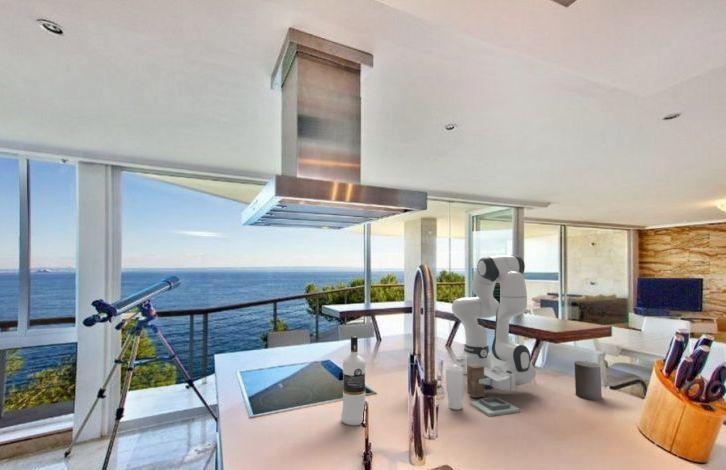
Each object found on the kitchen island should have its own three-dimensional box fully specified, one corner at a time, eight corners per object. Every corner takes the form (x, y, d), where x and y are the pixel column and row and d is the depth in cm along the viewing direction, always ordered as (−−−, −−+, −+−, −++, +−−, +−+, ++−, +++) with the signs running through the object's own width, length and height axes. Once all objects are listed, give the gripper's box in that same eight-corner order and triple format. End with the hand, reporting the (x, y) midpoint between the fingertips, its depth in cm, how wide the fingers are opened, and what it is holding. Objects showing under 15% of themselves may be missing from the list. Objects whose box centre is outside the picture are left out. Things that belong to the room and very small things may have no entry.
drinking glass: (444, 409, 142) (443, 369, 143) (449, 403, 148) (448, 365, 149) (462, 412, 139) (461, 372, 140) (466, 406, 145) (465, 367, 146)
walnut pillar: (467, 393, 156) (466, 364, 157) (477, 392, 158) (476, 363, 159) (474, 397, 152) (473, 368, 153) (484, 396, 153) (483, 367, 154)
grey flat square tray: (470, 404, 147) (470, 398, 147) (499, 400, 151) (499, 394, 151) (488, 416, 135) (488, 409, 135) (519, 411, 139) (519, 404, 139)
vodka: (363, 414, 137) (363, 333, 139) (369, 425, 128) (369, 338, 130) (339, 417, 135) (339, 334, 137) (343, 427, 126) (344, 339, 128)
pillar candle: (571, 395, 157) (570, 359, 158) (581, 390, 163) (580, 356, 164) (596, 402, 149) (594, 365, 150) (605, 397, 155) (604, 361, 156)
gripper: (486, 362, 169) (460, 364, 165) (516, 375, 150) (488, 378, 146) (486, 376, 169) (460, 378, 165) (517, 391, 149) (488, 394, 145)
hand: (473, 378), depth 155 cm, fingers closed on walnut pillar, 5 cm apart
